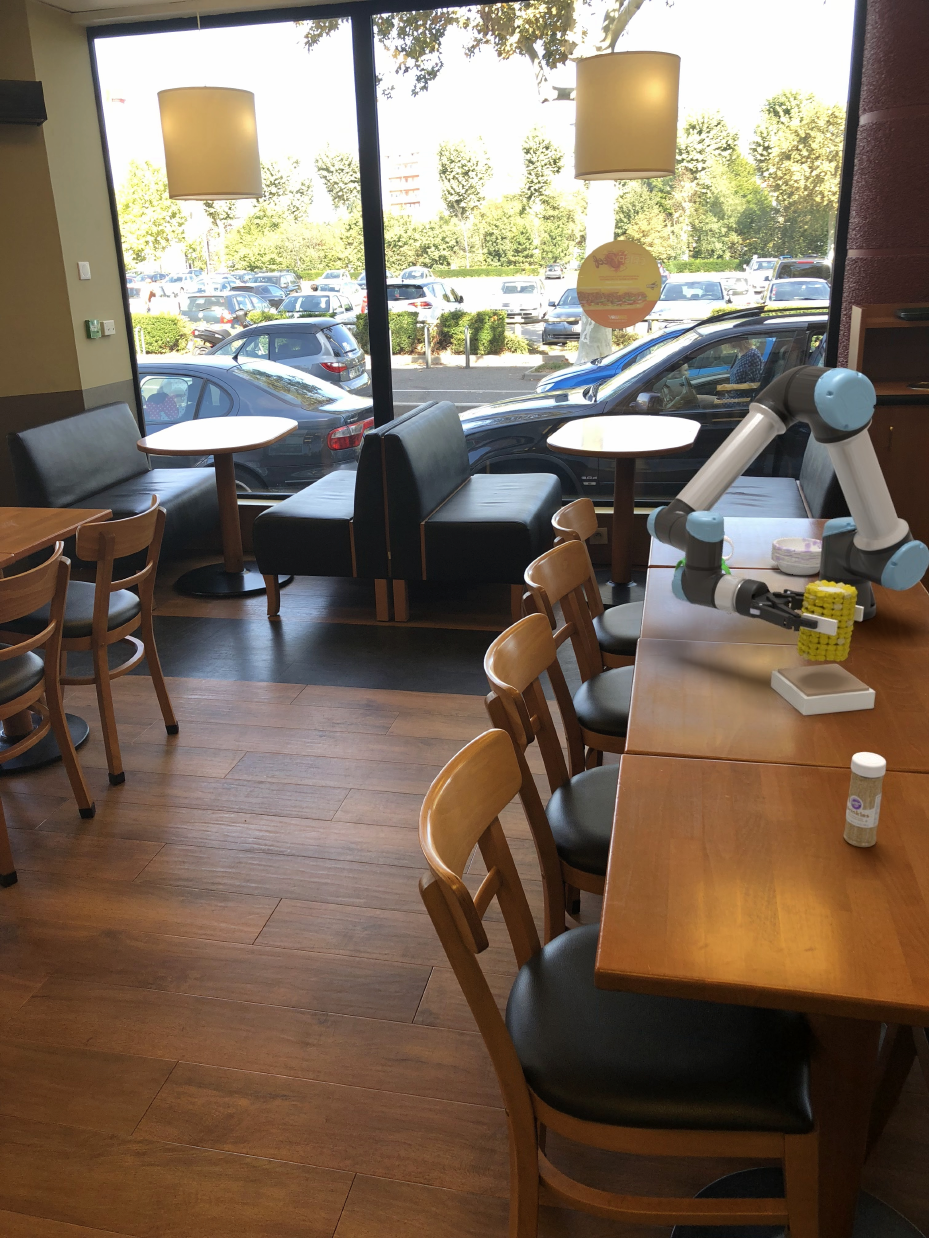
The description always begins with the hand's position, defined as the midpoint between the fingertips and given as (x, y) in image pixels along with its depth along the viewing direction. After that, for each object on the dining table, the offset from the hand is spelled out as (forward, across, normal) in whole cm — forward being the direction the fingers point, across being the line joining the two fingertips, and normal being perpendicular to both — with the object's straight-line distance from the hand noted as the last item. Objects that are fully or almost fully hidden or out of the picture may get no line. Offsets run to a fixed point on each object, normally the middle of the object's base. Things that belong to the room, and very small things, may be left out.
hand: (849, 621), depth 181 cm
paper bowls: (-49, -74, -17) cm, 90 cm away
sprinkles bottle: (+24, +43, -17) cm, 52 cm away
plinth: (-4, 0, -17) cm, 17 cm away
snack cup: (-56, -38, -17) cm, 70 cm away
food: (-4, 0, -8) cm, 9 cm away
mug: (-70, -63, -17) cm, 96 cm away
